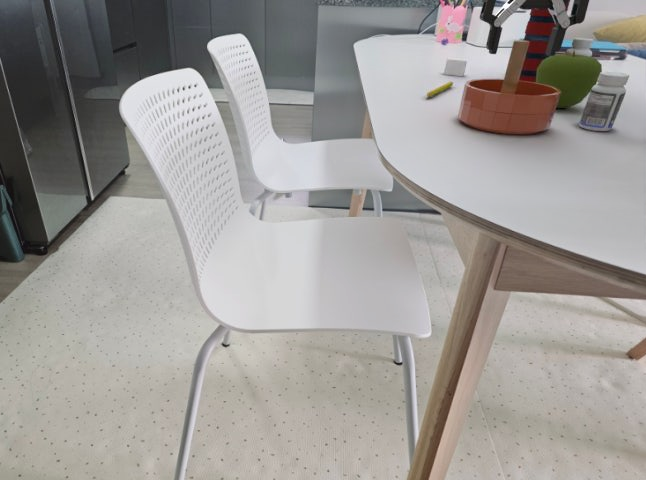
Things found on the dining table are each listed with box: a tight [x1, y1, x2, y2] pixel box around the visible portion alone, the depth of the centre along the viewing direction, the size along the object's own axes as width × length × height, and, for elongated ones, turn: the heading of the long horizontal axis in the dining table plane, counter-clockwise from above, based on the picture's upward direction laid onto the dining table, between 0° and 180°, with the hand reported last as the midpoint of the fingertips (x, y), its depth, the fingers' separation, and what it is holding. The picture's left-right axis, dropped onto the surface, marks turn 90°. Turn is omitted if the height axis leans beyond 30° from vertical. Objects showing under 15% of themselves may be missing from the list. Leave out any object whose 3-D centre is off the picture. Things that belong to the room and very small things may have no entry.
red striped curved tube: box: [519, 0, 571, 82], centre depth 104 cm, size 25×7×25 cm, turn 150°
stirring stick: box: [500, 39, 529, 94], centre depth 75 cm, size 2×2×12 cm
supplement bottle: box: [564, 37, 594, 57], centre depth 108 cm, size 5×5×10 cm
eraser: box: [443, 58, 468, 77], centre depth 119 cm, size 1×5×4 cm, turn 63°
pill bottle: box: [578, 71, 630, 132], centre depth 75 cm, size 5×5×8 cm
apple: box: [536, 51, 603, 109], centre depth 87 cm, size 11×10×10 cm
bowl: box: [457, 78, 561, 135], centre depth 77 cm, size 14×14×6 cm
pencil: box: [426, 81, 454, 98], centre depth 100 cm, size 16×1×1 cm, turn 146°
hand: (520, 54), depth 73 cm, fingers open, 8 cm apart
